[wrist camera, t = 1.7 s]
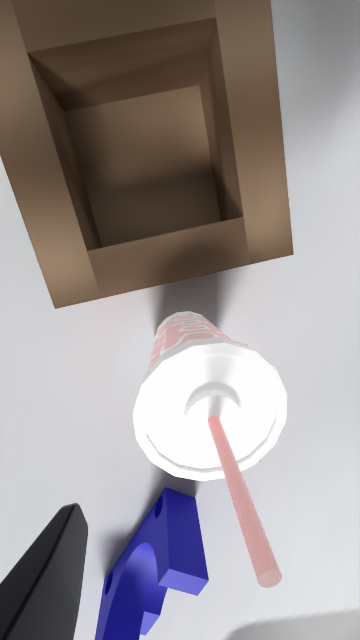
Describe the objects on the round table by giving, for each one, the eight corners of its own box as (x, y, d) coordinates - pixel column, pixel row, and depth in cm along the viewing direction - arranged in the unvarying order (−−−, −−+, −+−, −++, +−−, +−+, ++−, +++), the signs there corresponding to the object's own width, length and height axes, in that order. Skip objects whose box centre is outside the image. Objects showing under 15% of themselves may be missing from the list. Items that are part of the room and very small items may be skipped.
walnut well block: (254, 255, 17) (293, 254, 12) (83, 293, 17) (54, 308, 12) (226, 42, 14) (263, -70, 9) (16, 82, 14) (-60, -13, 9)
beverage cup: (232, 305, 18) (466, 450, 4) (219, 381, 19) (365, 668, 6) (147, 296, 17) (118, 437, 4) (140, 376, 19) (99, 690, 5)
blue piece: (146, 590, 24) (143, 693, 19) (104, 579, 24) (87, 684, 18) (209, 501, 22) (227, 586, 17) (165, 485, 22) (169, 568, 16)
